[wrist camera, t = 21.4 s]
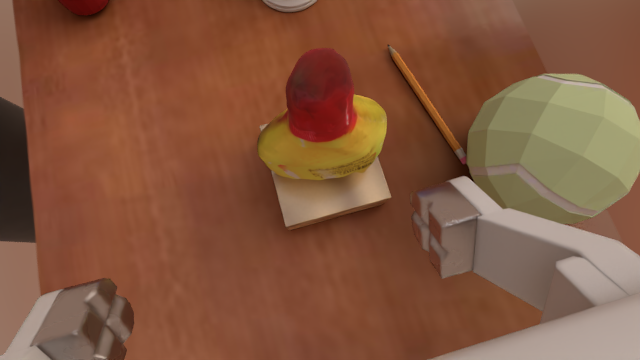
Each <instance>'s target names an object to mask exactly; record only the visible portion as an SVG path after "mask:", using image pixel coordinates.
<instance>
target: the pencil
mask: <svg viewBox="0 0 640 360" xmlns="http://www.w3.org/2000/svg"><path fill="white" fill-rule="evenodd" d="M388 48H389V51H390V54H391V57H392V59H393V60H394V62H395V63H396V65H397V66H398V68H399V69H400V71H401V72H402V74H403V75H404V77H405V78H406V80H407V81H408V83H409V84H410V86H411V87H412V89H413V90H414V92H415V93H416V95H417V96H418V98H419V99H420V101H421V102H422V104H423V105H424V107H425V108H426V110H427V111H428V113H429V115H430V116H431V118H432V119H433V121H434V122H435V124H436V125H437V127H438V128H439V130H440V131H441V133H442V134H443V136H444V137H445V139H446V140H447V142H448V143H449V145H450V146H451V148H452V149H453V151H454V152H455V154H456V155H457V156H458V158H459V159H460V161H461V162H462V164H466V154H465V153H464V151H463V149H462V148H461V146H460V145H459V143H458V142H457V140H456V139H455V137H454V136H453V134H452V133H451V131H450V130H449V128H448V127H447V125H446V124H445V122H444V121H443V119H442V118H441V116H440V115H439V113H438V112H437V110H436V109H435V107H434V106H433V104H432V103H431V102H430V100H429V99H428V97H427V96H426V94H425V93H424V91H423V90H422V88H421V87H420V85H419V84H418V82H417V81H416V79H415V78H414V76H413V75H412V73H411V72H410V70H409V69H408V67H407V66H406V64H405V63H404V61H403V60H402V58H401V57H400V55H399V54H398V52H396V51H395V50H394V49H393V48H392V47H390V46H389V45H388Z"/></svg>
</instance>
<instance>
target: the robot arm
mask: <svg viewBox="0 0 640 360" xmlns="http://www.w3.org/2000/svg"><path fill="white" fill-rule="evenodd" d="M410 204H411V205H412V207H413V208H414V209H415V211H414V213H413V214H412V216H411V220H412V227H413V231H414V235H415V237H416V239H417V241H418V243H419V245H420V246H421V248H422V249H424V250H426V251H429V256H430V262H431V263H432V265H433V266H434V268H435V269H436V271H437V272H438V274H439V275H440V277H441V278H446V277H450V276H453V275H457V274H461V273H464V272H468V271H472V270H473V272H474V273H476V274H478V275H480V276H481V277H483V278H485V279H487V280H488V281H490V282H492V283H494V284H495V285H497V286H499V287H501V288H502V289H504V290H506V291H508V292H509V293H511V294H513V295H515V296H516V297H518V298H520V299H522V300H523V301H525V302H527V303H529V304H530V305H532V306H534V307H536V308H537V309H539V310H541V311H543V313H542V317H541V321H540V324H539V325H536V326H532V327H529V328H526V329H523V330H520V331H517V332H513V333H510V334H507V335H504V336H501V337H498V338H495V339H491V340H488V341H485V342H482V343H479V344H476V345H472V346H469V347H466V348H463V349H460V350H457V351H453V352H450V353H447V354H444V355H441V356H438V357H435V358H431V359H428V360H640V256H639V255H637V254H636V253H635V252H633V251H632V250H630V249H629V248H627V247H626V246H625V245H624V244H622V243H621V242H619V241H617V240H613V239H610V238H607V237H604V236H600V235H597V234H594V233H590V232H587V231H584V230H580V229H577V228H574V227H570V226H567V225H564V224H560V223H557V222H554V221H551V220H547V219H544V218H541V217H537V216H534V215H531V214H527V213H524V212H521V211H517V210H514V209H511V208H507V209H502V208H501V207H500V206H499V205H498V204H497V203H496V202H495V201H494V200H492V199H491V198H490V197H489V196H488V195H487V194H486V193H485V192H484V191H482V190H481V189H480V188H479V187H478V186H477V185H476V184H475V183H474V182H473V181H471V180H470V179H469V178H468V177H466V176H462V177H458V178H455V179H452V180H449V181H446V182H443V183H440V184H436V185H433V186H430V187H426V188H423V189H419V190H416V191H412V192H411V195H410ZM116 290H117V286H116V285H115V284H114V283H113V282H112V281H111V279H107V278H102V279H98V280H95V281H91V282H87V283H83V284H79V285H75V286H71V287H67V288H65V289H61V290H57V291H53V292H49V293H46V294H44V295H42V296H41V297H39V298H38V299H37V301H36V303H35V304H34V306H33V308H32V309H31V311H30V312H29V314H28V316H27V317H26V319H25V321H24V323H23V324H22V326H21V327H20V329H19V331H18V333H17V334H16V336H15V337H14V339H13V341H12V343H11V344H10V346H9V347H8V349H7V351H6V352H5V354H4V355H1V356H0V360H124V358H125V355H126V351H127V349H126V348H125V346H124V344H123V343H124V342H125V341H126V340H127V338H128V337H129V336H130V335H131V334H132V330H133V326H134V312H133V310H132V307H131V304H130V303H129V302H128V300H127V299H126V298H124V297H121V296H119V295H116Z"/></svg>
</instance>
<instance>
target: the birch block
mask: <svg viewBox="0 0 640 360" xmlns="http://www.w3.org/2000/svg"><path fill="white" fill-rule="evenodd" d="M267 125H268V124H265V125H261V126H260V130H261V131H262V130H263V129H264V128H265V127H266V126H267ZM271 173H272V177H273V180H274V184H275V188H276V192H277V196H278V200H279V203H280V207H281V211H282V215H283V219H284V223H285V227H286V228H287V229H289V230H293V229H296V228H300V227H303V226H307V225H311V224H314V223H318V222H321V221H325V220H328V219H332V218H335V217H339V216H342V215H346V214H350V213H353V212H357V211H360V210H364V209H367V208H371V207H374V206H378V205H381V204H384V203H385V202H386V201H387V200H389V199H390V198H391V195H390V192H389V189H388V186H387V183H386V180H385V177H384V173H383V170H382V167H381V164H380V161H379V158H378V156H377V157H376V158H375V160H374V162H373V163H372V164H371V165H370V166H369V167H368V168H367V169H366V170H365V172H363V173H359V172H354V173H351V174H349V175H347V176H344V177H340V178H329V179H324V180H310V179H292V178H288V177H283V176H280V175H277V174H276V173H274V172H273V171H272V170H271Z"/></svg>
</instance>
